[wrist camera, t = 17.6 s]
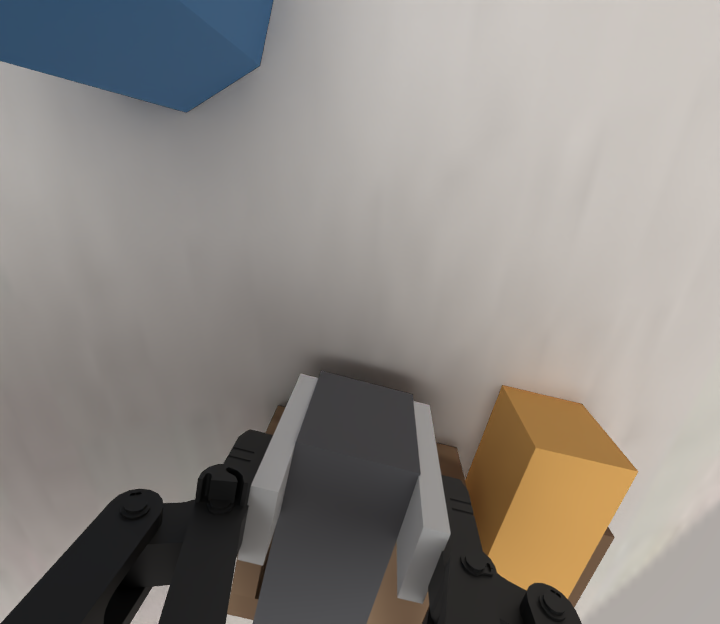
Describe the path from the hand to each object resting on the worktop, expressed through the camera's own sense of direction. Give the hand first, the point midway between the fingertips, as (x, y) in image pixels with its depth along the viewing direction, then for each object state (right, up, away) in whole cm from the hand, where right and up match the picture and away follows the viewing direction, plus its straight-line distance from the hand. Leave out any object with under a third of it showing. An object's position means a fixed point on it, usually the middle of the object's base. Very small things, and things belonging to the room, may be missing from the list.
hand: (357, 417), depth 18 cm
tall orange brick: (+8, -5, +5) cm, 10 cm away
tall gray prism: (-1, -4, +2) cm, 4 cm away
